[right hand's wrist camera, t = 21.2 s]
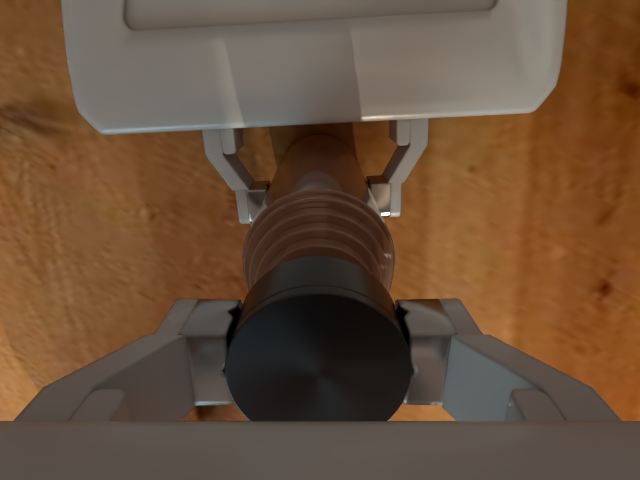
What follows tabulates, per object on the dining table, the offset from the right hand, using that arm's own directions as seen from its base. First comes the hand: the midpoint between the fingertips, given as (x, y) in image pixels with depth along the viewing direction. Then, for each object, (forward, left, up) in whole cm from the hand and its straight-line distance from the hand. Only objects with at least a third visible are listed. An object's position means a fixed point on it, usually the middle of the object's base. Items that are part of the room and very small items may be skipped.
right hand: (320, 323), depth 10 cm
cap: (0, 0, +2) cm, 2 cm away
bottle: (0, 0, -17) cm, 17 cm away
